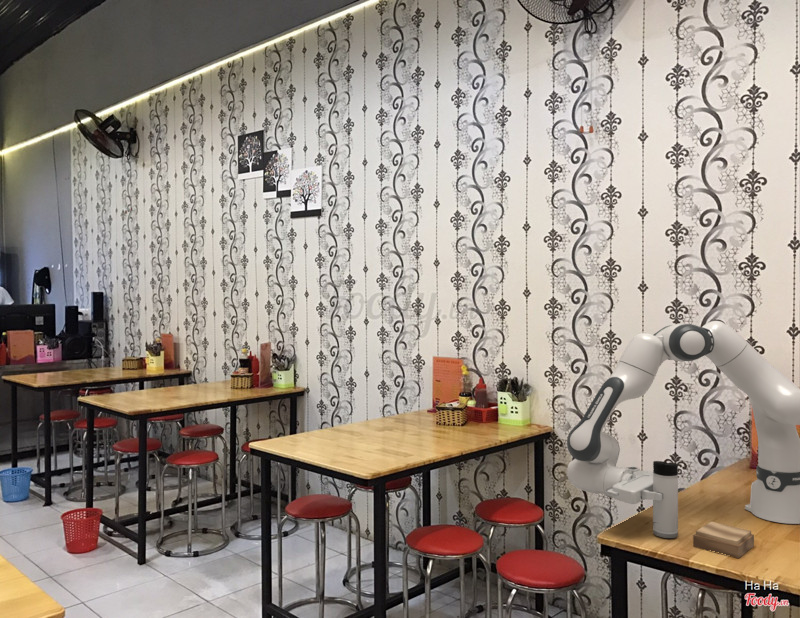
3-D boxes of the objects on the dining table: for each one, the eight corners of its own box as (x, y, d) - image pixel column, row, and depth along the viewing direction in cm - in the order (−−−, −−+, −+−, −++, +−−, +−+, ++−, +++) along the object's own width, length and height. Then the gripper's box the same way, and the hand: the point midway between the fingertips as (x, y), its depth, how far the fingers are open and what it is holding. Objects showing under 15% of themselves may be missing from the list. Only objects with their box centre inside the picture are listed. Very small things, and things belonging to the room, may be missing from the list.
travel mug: (648, 534, 176) (648, 461, 176) (659, 528, 181) (659, 456, 180) (671, 540, 171) (671, 465, 171) (681, 534, 176) (681, 460, 176)
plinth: (709, 535, 176) (709, 520, 176) (753, 546, 168) (753, 530, 168) (693, 546, 168) (693, 531, 168) (738, 558, 160) (738, 542, 160)
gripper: (602, 480, 178) (651, 490, 168) (637, 465, 192) (684, 474, 182) (602, 503, 178) (651, 514, 168) (637, 486, 192) (684, 496, 182)
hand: (668, 493), depth 175 cm, fingers closed on travel mug, 6 cm apart
